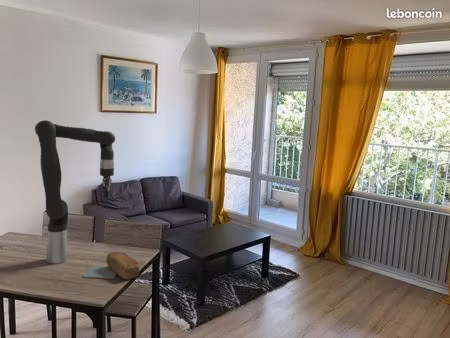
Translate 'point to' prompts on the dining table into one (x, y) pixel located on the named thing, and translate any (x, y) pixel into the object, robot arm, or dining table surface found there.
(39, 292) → the dining table surface
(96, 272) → the mat
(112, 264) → the brown rounded piece
